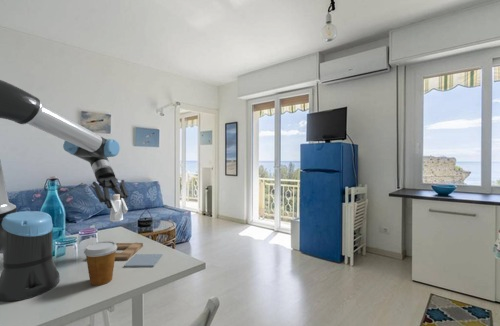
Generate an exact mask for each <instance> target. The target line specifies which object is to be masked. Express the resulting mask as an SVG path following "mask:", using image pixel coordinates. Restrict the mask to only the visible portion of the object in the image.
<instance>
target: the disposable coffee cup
mask: <svg viewBox="0 0 500 326" xmlns="http://www.w3.org/2000/svg"><path fill="white" fill-rule="evenodd" d="M116 243H117V242H116V241H112V240H105V241H97V242H94V243H93V242H92V243H90V244H88V245H87V246H86V247H85V249H84V251H83V253H84V254H85V257H86V258H85V259H86V265H87V270H88V277H89V283H90V285H91V286H96V287H97V286H102V285H105V284H108V283H110V282H111V281H113V275H114V268H115V261H116V260H115V253H117V252H116V251H117V250H116V249H117V245H116Z"/></svg>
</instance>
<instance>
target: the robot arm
mask: <svg viewBox="0 0 500 326" xmlns="http://www.w3.org/2000/svg"><path fill="white" fill-rule="evenodd" d="M0 119H3V120H4V119H5V120H9V121H11V122H15V123H17V124H19V125H26V124H28V125H29V126H31V127H34V128H37V129H39V130H41V131H42V132H44V133H45V132H46V133H47V134H50V135H51V136H54V137H56V138H58V139H61V140H63V141H64V143H63V147H62V148H63V150H64V151H65V152H67V153H68V154H70V155H72V156H74V157H77V158H79V159H82V160H83V161H86V162H88V163H89V164H90V166H91V169H92V172H93V174H94V177H95V179H96V181H92V184H91V187H92V188H93V190H94V192H95V194H96V196H97V198H98V201H99V202H100V203H102V204H103V203H104V205H106V207H107V209H110V212H112V214H113V216H115V214H116V213H117V210H116V208H115V205H114V203H113V201H112V200H113V198H112V199H110V191H109V189H111V191H113V192H114V194H120V200H121V203H122V212H123V215H125V214H127V213H128V211H129V208H128V207H127V205H128V201H127V199H128V198H129V196H130V195H129V193H128V191H127V187H126V186H125V180H124V179H121V180H118V178H117V177H116V174H115V172H114V169H113V167H112V165H111V163H110V160H109V158H112V157H116V156H118V155H119V153H120V150H121V146H120V143H119V142H118V141H117V140H116V139H113V138H104V137H103V136H101V135H98V134H97V133H95V132H94V131H92V130H90V129H89V128H86V127H84V126H83V125H81V124H79V123H77V122H75V121H73V120H71V119H70V118H68V117H66V116H64V115H63V114H60V113H59V112H57V111H55V110H53V109H52V108H51V107H50V108H49V107H48V106H46V105H44V104H42V102H41V99H40V98H38V97H37V96H35V95H33V94H31V93H29V92H28V91H26V90H23V89H21V88H19V87H18V86H16V85H14V84H12V83H9V82H7V81H4V80H2V79H0ZM101 187H102V190H101ZM7 192H8V191H7V185H6V181H5V177H4V171H3V167H2V163H1V160H0V254H1V255H2V271H1V274H0V301H1V302H14V301H20V300H25V299H29V298H33V297H36V296H39V295H41V294H44V293H46V292H48V291H51V290H52V289H54V288H55V287H56V286H57V285H58V284H59V283H60V281H61V279H60V272H59V270H58V269H57V266H56V264H55V262H54V258H53V256H54V255H53V247H54V245H53V242H54V241H53V234H54V233H53V232H54V231H53V230H54V224H53V220H52V219H53V218H52V216H51V215H50V214H49V213H47V212H44V211H38V210H37V211H36V210H33V211H32V210H31V211H30V210H24V211H18V209H17V205H15V204H13V203H11V202H10V201H9V196H8V193H7Z"/></svg>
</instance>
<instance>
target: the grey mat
mask: <svg viewBox="0 0 500 326" xmlns="http://www.w3.org/2000/svg"><path fill="white" fill-rule="evenodd" d="M161 256H162V257H163V254H162V253H151V254H150V253H141V254H140V253H139V254H137V253H135V254H134V255H133V256H131V257H130V258H129V259H128V260H127V262H126V263H125V264H124V265H123V268H154V267H155V266H156V264H157V263H158V262H159V260H160V259H162V257H161Z"/></svg>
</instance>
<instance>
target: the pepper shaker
mask: <svg viewBox="0 0 500 326" xmlns="http://www.w3.org/2000/svg"><path fill="white" fill-rule="evenodd" d="M112 201H113V203H114V205H115V208H116V210H117V213H116V214H115V216H113V214H112V212H111V211H110V213H109V222H120V221H123V220H124V212H123V210H122V203H121V200H120V194H115V193H114V194H113V195H112Z"/></svg>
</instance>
